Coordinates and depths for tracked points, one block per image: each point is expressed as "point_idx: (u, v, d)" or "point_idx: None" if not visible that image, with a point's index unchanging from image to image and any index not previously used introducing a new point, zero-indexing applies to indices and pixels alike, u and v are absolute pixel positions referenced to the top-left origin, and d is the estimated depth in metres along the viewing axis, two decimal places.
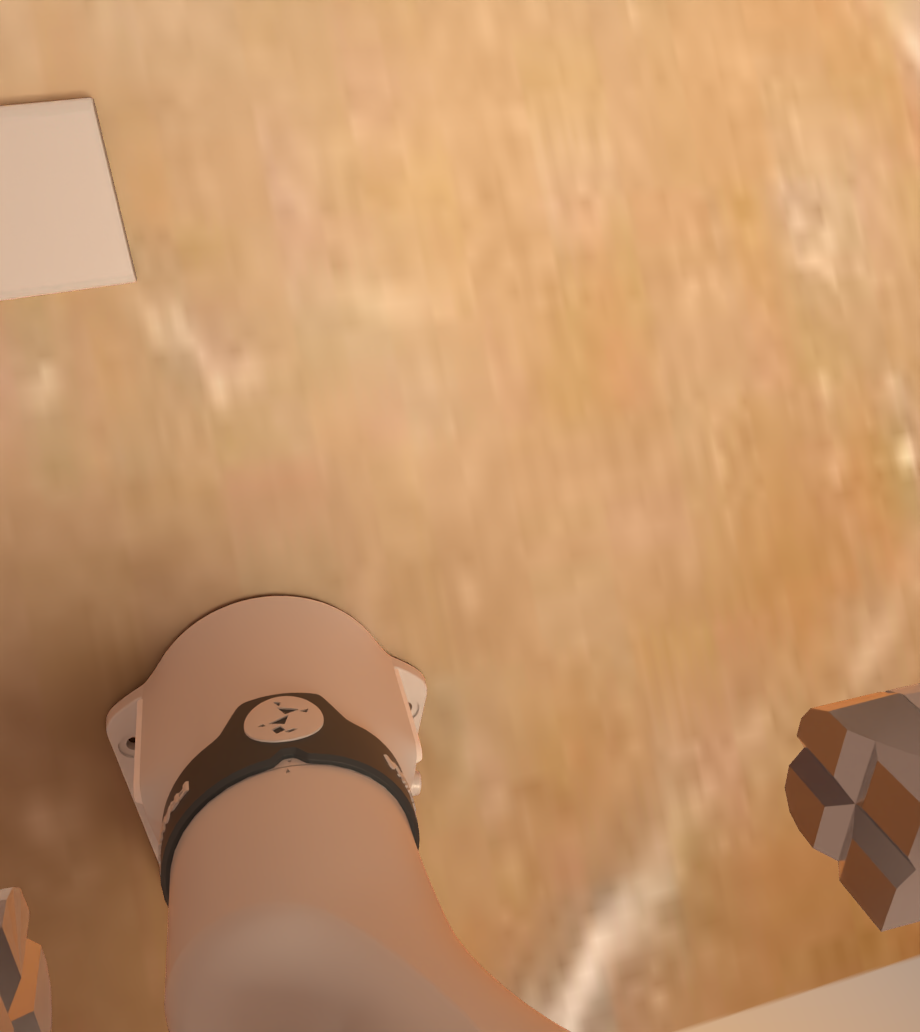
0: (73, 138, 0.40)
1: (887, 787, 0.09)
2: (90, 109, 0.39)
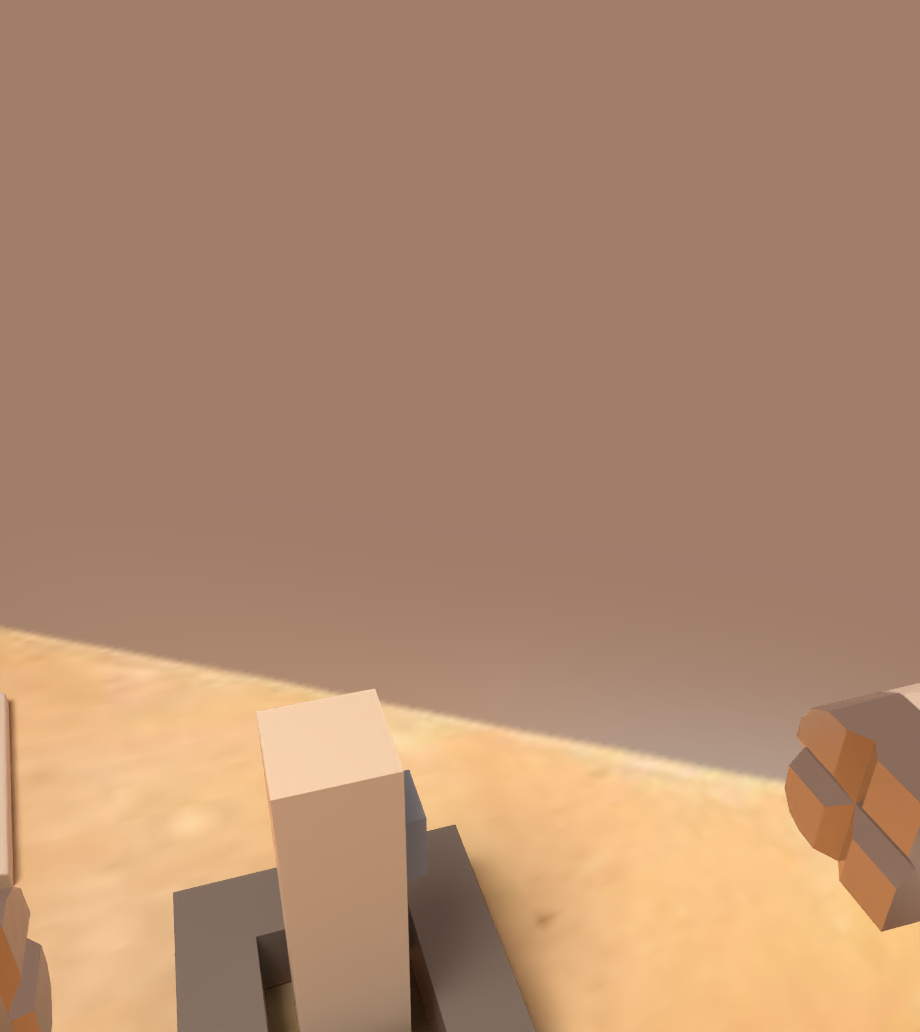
0: None
1: (887, 787, 0.09)
2: None
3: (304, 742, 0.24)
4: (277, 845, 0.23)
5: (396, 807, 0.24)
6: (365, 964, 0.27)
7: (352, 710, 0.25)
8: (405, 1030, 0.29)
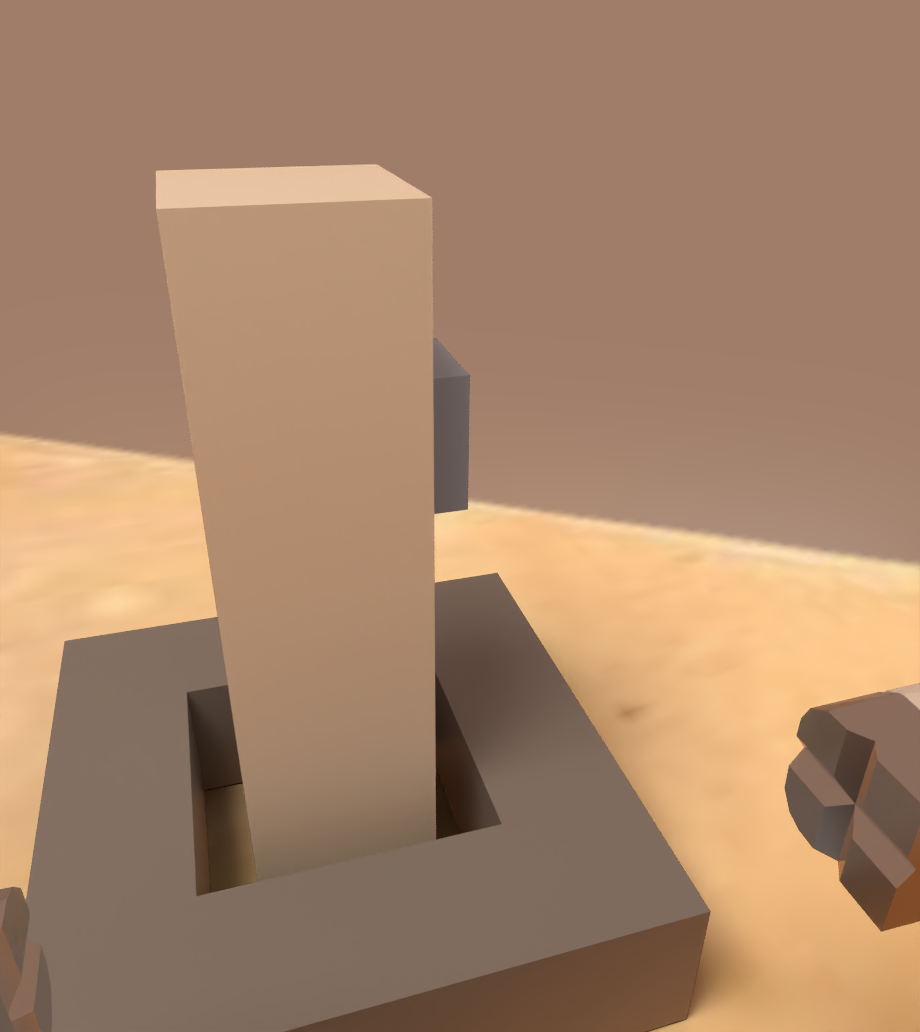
0: None
1: (887, 787, 0.09)
2: None
3: (238, 184, 0.13)
4: (178, 340, 0.12)
5: (416, 294, 0.12)
6: (357, 667, 0.15)
7: (334, 171, 0.14)
8: (426, 816, 0.17)
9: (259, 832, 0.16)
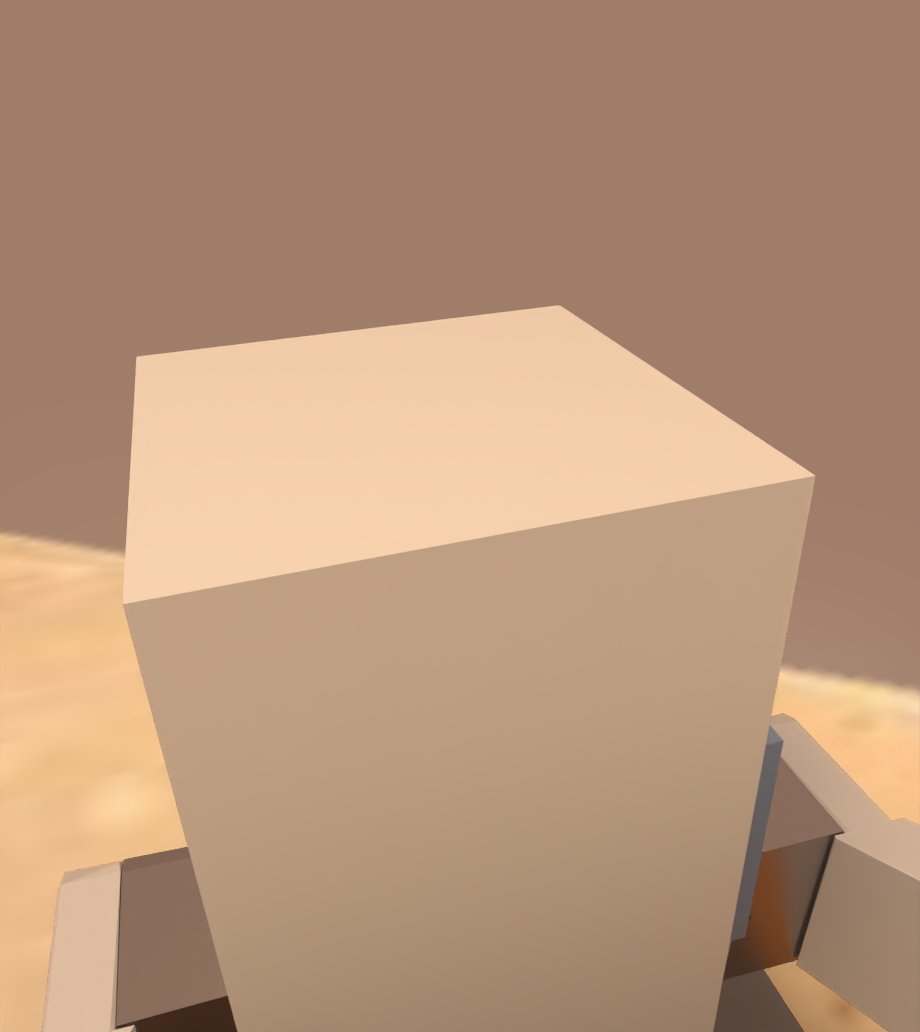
0: None
1: None
2: None
3: (317, 414, 0.06)
4: (199, 861, 0.05)
5: (746, 673, 0.05)
6: None
7: (497, 342, 0.07)
8: None
9: None
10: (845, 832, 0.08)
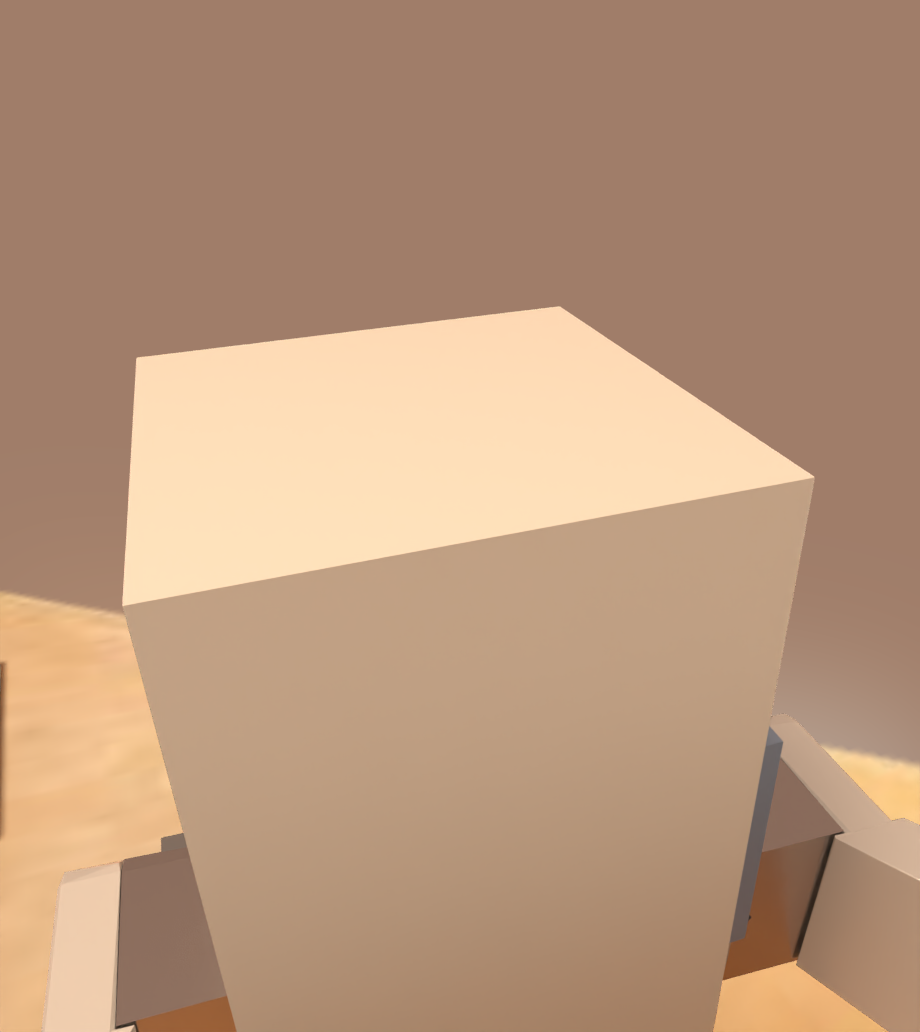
0: None
1: None
2: None
3: (317, 415, 0.06)
4: (198, 863, 0.05)
5: (746, 674, 0.05)
6: None
7: (496, 343, 0.07)
8: None
9: None
10: (845, 832, 0.08)
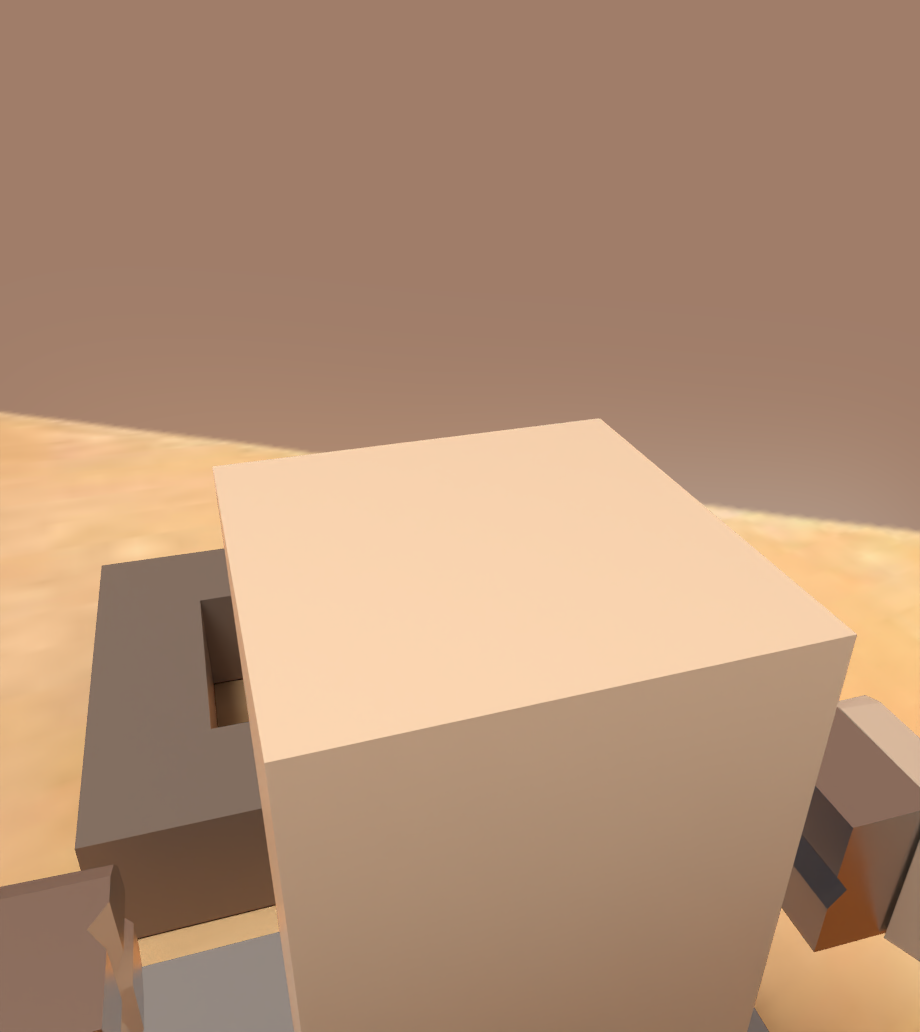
0: None
1: (817, 805, 0.08)
2: None
3: (396, 544, 0.06)
4: (298, 972, 0.05)
5: (784, 796, 0.06)
6: None
7: (549, 463, 0.07)
8: None
9: None
10: None
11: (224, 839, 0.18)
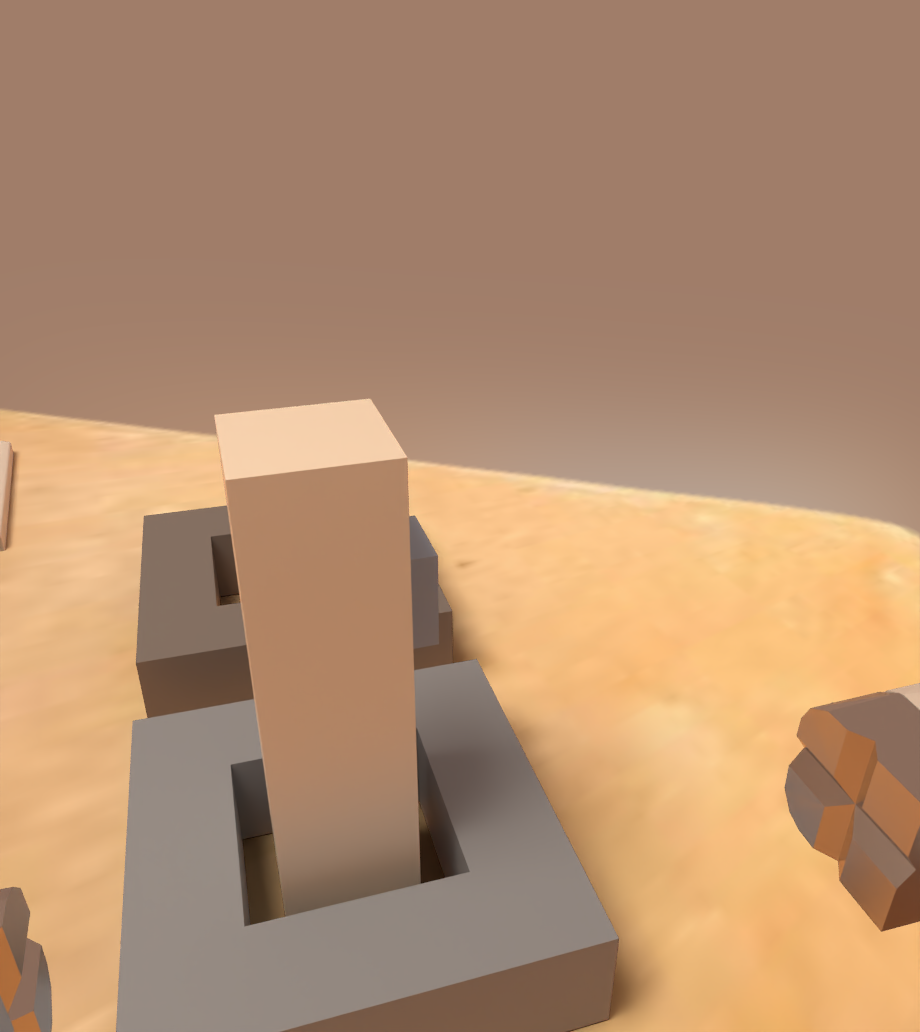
0: None
1: (887, 787, 0.09)
2: None
3: (275, 437, 0.18)
4: (237, 556, 0.17)
5: (398, 516, 0.18)
6: (360, 760, 0.20)
7: (340, 413, 0.19)
8: (413, 866, 0.23)
9: (288, 881, 0.22)
10: None
11: (224, 664, 0.30)
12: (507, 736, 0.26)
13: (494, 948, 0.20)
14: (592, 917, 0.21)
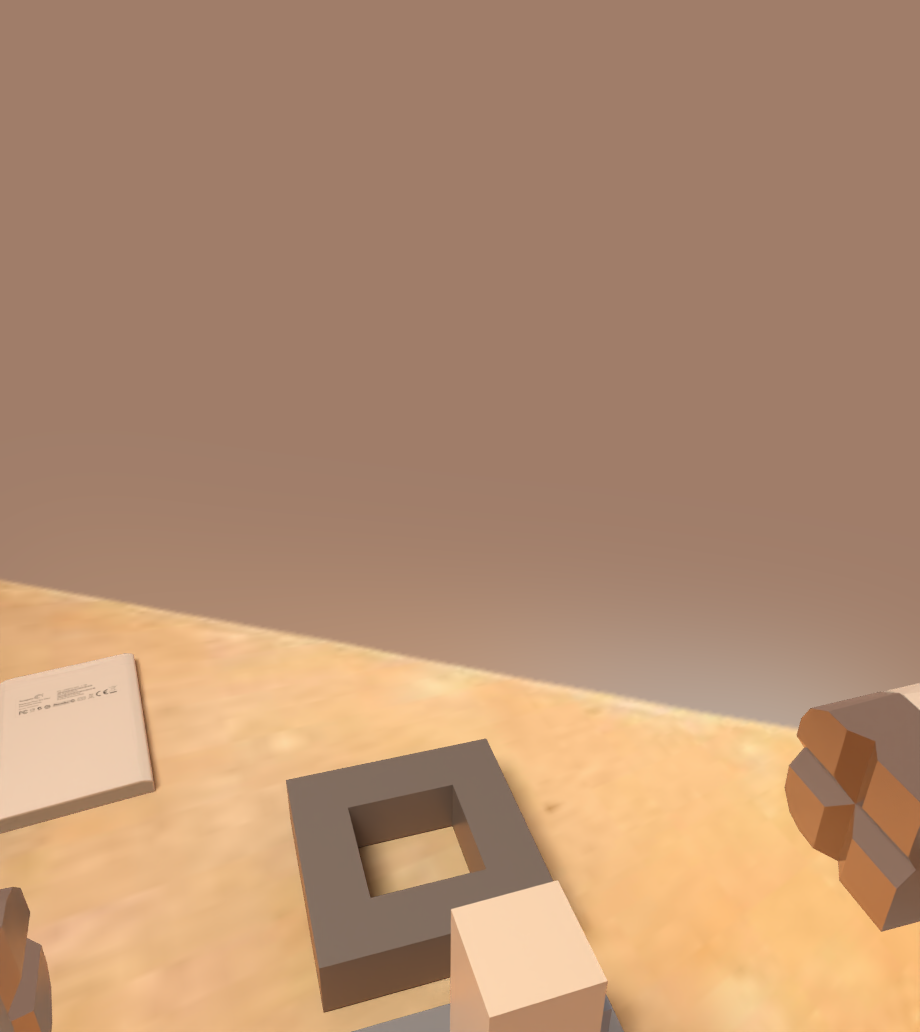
0: (119, 771, 0.49)
1: (887, 787, 0.09)
2: (142, 778, 0.49)
3: (505, 946, 0.25)
4: None
5: (596, 1011, 0.25)
6: None
7: (542, 907, 0.27)
8: None
9: None
10: None
11: (385, 960, 0.38)
12: None
13: None
14: None
